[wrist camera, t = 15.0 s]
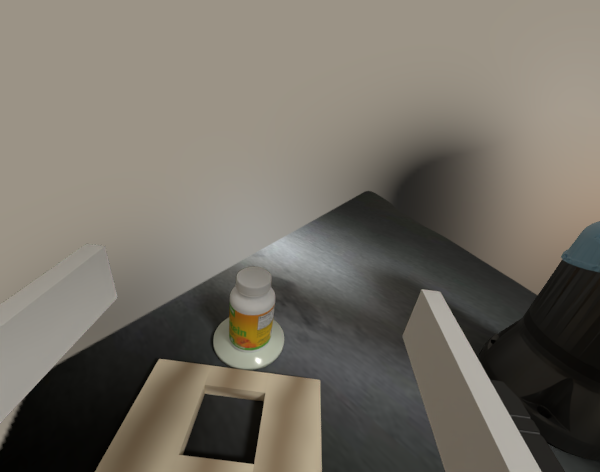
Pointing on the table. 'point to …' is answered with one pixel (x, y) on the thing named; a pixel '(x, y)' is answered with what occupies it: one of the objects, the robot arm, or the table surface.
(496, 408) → the robot arm
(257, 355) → the pale green oval pebble
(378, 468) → the table surface
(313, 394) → the socket plate
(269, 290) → the supplement bottle
